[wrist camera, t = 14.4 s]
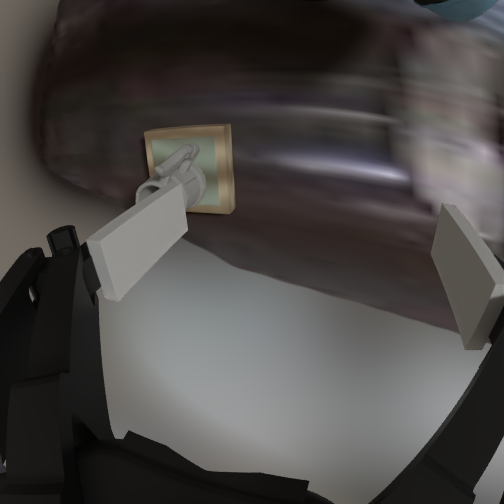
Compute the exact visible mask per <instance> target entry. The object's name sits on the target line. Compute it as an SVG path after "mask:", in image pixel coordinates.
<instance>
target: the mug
mask: <svg viewBox="0 0 504 504" xmlns="http://www.w3.org/2000/svg"><path fill="white" fill-rule="evenodd" d="M199 152H200V148H199V147H198V146H197V145H196V144H194V143H189V144H185V145H182V146H181V147H180V148H179V149H178V150H176V151H175V152H174V153H173V154H172V155H171V156H169V157H168V158H167V159H166V160H165V162H163V163H162V164H161V165H159V166H157V167H155V171H156V172H157V173H156V174H153V175H152V176H151V177H150V178H149V179H148V181H146V182H145V183H144V184H142V185H141V186H140V187H139V188H138V190H137V193H136V204H137V203H139V202H140V201H142V200H143V199H145V198H146V197H148V196H150V195H151V194H153V193H154V192H156V191H157V190H159V189H160V188H162V187H164V186H165V185H167V184H168V183H182V190H183V198H184V206H185V211H186V209H188V208H191V207H195V206H196V205H197V204H198V203H199V202H200V201H201V199H202V198H203V196H204V193H205V191H206V179H205V175H204V173H203V171H202V170H201V169H200V168H199V167H198V166H197V165H196V164H194V163H193V161H194V160H195V158H196V157H197V155H198V154H199ZM201 173H202V174H201Z"/></svg>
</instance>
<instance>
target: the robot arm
mask: <svg viewBox="0 0 504 504" xmlns="http://www.w3.org/2000/svg"><path fill="white" fill-rule="evenodd" d="M310 1H316V0H310ZM497 1H498V0H414V2H415V3H416V4H417V5H419V6H421V7H424V8H428V9H429V10H431V11H433V12H435V13H436V14H438V15H440V16H441V17H443V18H445V19H447V20H449V21H457V22H466V21H469V20H472V19H474V18H476V17H478V16H480V15H482V14H483V13H484V12H486V11H487V10H488V9H490V8H491V7H492V6H493V5H494V4H495V3H496V2H497ZM187 230H188V227H187V220H186V213H185V206H184V198H183V190H182V183H168V184H167V185H165V186H164V187H162V188H160V189H159V190H157V191H156V192H154V193H153V194H151V195H150V196H148V197H146V198H145V199H143V200H142V201H140V202H139V203H137V204H136V205H134V206H133V207H131V208H130V209H128V210H127V211H125V212H124V213H123V214H121V215H120V216H118V217H117V218H115V219H114V220H113V221H111V222H110V223H108V224H107V225H105V226H104V227H103V228H101V229H100V230H98V231H97V232H96V233H94V234H93V235H92V236H90V237H89V238H87V239H86V242H85V243H83V244H82V245H81V246H80V244H79V241H78V237H77V234H76V230H75V227H74V226H72V225H67V226H63V227H59V228H57V229H55V230H53V231H52V232H50V233H49V234H48V235H47V240H48V243H49V246H50V249H51V252H52V257H45V255H44V253H43V250H42V248H40V247H37V248H30V249H28V250H26V251H25V252H24V253H23V254H22V255H20V256H19V258H18V259H17V260H16V261H15V263H14V264H13V265H12V267H11V268H10V269H9V271H8V272H7V273H6V274H5V276H4V277H3V279H2V280H1V281H0V504H334V503H332V502H331V501H329V500H328V499H326V498H324V497H322V496H320V495H318V494H316V493H314V492H311V491H308V490H307V488H308V484H309V481H307V480H300V479H292V478H286V477H281V476H275V475H270V474H264V473H238V472H213V471H207V470H204V469H202V468H200V467H199V466H197V465H195V464H194V463H192V462H190V461H189V460H187V459H186V458H184V457H183V456H181V455H179V454H178V453H176V452H175V451H173V450H172V449H170V448H169V447H167V446H166V445H163V444H161V443H158V442H155V441H153V440H150V439H148V438H145V437H143V436H141V435H138V434H136V433H134V432H131V431H128V432H127V434H126V435H125V437H124V439H115V437H114V435H113V433H112V430H111V426H110V420H109V414H108V408H107V401H106V394H105V387H104V377H103V369H102V357H101V345H100V331H99V330H100V329H99V303H98V302H99V301H98V296H97V294H96V291H97V290H98V289H99V288H100V287H101V288H102V291H103V294H104V296H105V298H106V299H109V300H113V301H117V302H119V301H120V300H121V299H122V298H123V297H124V296H125V294H126V293H127V292H128V291H129V290H130V289H131V288H132V287H133V286H134V285H135V284H136V283H137V281H139V280H140V278H141V277H142V276H143V275H144V274H145V273H146V272H147V271H148V270H149V269H150V268H151V267H152V266H153V265H154V264H155V263H156V262H157V261H158V260H159V259H160V258H161V256H163V255H164V254H165V253H166V252H167V250H169V248H170V247H171V246H172V245H173V244H174V243H175V242H176V241H177V240H178V239H179V238H180V237H181V236H182V235H183V234H184V233H185V232H186V231H187ZM431 256H432V258H433V261H434V263H435V265H436V268H437V270H438V273H439V275H440V278H441V280H442V283H443V285H444V288H445V291H446V293H447V296H448V299H449V302H450V304H451V307H452V310H453V313H454V316H455V319H456V322H457V325H458V328H459V332H460V335H461V338H462V341H463V345H464V348H465V350H482V349H483V347H484V345H485V343H486V341H487V340H488V338H490V341H491V344H492V346H491V348H490V350H489V351H488V353H487V355H486V356H485V358H484V360H483V361H482V363H481V364H480V366H479V369H478V371H477V373H476V374H475V376H474V377H473V379H472V381H471V382H470V384H469V386H468V387H467V389H466V390H465V392H464V394H463V395H462V396H461V398H460V400H459V401H458V402H457V404H456V405H455V407H454V408H453V410H452V411H451V412H450V414H449V415H448V417H447V418H446V419H445V421H444V422H443V423H442V425H441V426H440V427H439V429H438V430H437V431H436V433H435V434H434V435H433V436H432V438H431V439H430V440H429V441H428V443H427V444H426V445H425V446H424V447H423V448H422V450H421V451H420V452H419V453H418V454H417V455H416V457H415V458H414V459H413V460H412V461H411V462H410V464H409V465H408V466H407V467H406V468H405V469H404V470H403V471H402V472H401V473H400V474H399V475H398V476H397V477H396V478H395V480H393V481H392V482H391V484H389V485H388V486H387V487H386V488H385V489H384V490H383V491H382V492H381V493H380V494H379V495H378V496H377V497H376V498H374V499H373V500H372V501H371V502H370V503H369V504H473V502H474V500H475V496H476V495H475V494H474V493H473V489H474V487H475V485H476V484H477V482H478V481H479V479H480V477H481V476H482V474H483V472H484V471H485V469H486V467H487V466H488V464H489V462H490V461H491V459H492V457H493V455H494V453H495V452H496V450H497V448H498V446H499V444H500V442H501V440H502V438H503V436H504V262H503V261H502V260H500V259H499V258H498V257H497V256H496V255H493V254H492V252H491V251H490V249H489V248H488V247H487V245H486V244H485V242H484V241H483V240H482V238H481V237H480V236H479V234H478V233H477V232H476V230H475V229H474V228H473V227H472V225H471V224H470V223H469V221H468V220H467V219H466V218H465V216H464V215H463V214H462V213H461V212H460V210H459V209H458V208H457V207H456V206H455V205H450V204H443V203H442V205H441V211H440V216H439V220H438V225H437V230H436V234H435V238H434V242H433V247H432V251H431ZM29 288H30V291H31V293H32V295H33V297H34V300H33V302H32V300H31V298H30V295H29ZM5 460H6V467H5V466H4V465H3V464H4V462H5ZM499 504H504V492H503V495H502V498H501V501H500V503H499Z"/></svg>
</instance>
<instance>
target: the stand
mask: <svg viewBox="0 0 504 504" xmlns="http://www.w3.org/2000/svg"><path fill="white" fill-rule="evenodd" d="M144 136H145V144H146V152H147V160H148V167H149V174H150V177H151V176H152V175H153V174H156V173H157V172H156V171H155V167H157V166H159V165H161V164H162V163H163V162H165V160H166V159H167V158H168V157H169V156H171V155H172V154H173V153H174V152H175V151H176V150H178V149H179V148H180V147H181V146H182V145H185V144H189V143H194V144H196V145H197V146H198V147H199V148H200V152H199V154H198V155H197V157H196V158H195V160H194V161H193V163H194V164H196V165H197V166H198V167H199V168H200V169H201V170H202V171H203V173H204V175H205V179H206V191H205V193H204V196H203V198H202V199H201V201H200V202H199V203H198V204H197V205H196V206H195V207H191V208H188V209H186V211H185V212H202V213H218V214H230V213H231V212H232V211H233V210H234V209H235V207H236V206H235V190H234V174H233V158H232V141H231V124H211V125H194V126H181V127H169V128H159V129H152V130H149V131H146V132H144ZM201 174H202V173H201Z"/></svg>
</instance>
